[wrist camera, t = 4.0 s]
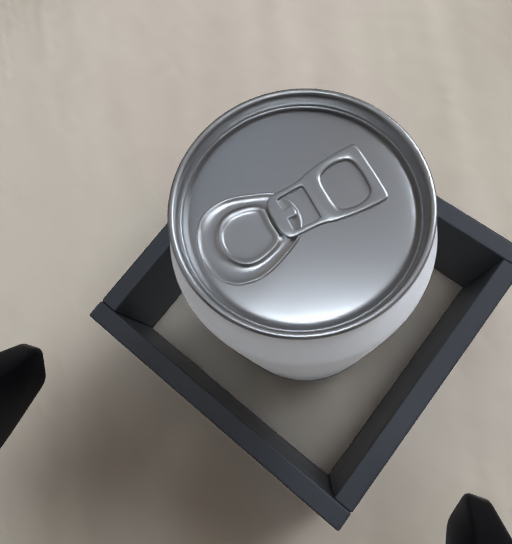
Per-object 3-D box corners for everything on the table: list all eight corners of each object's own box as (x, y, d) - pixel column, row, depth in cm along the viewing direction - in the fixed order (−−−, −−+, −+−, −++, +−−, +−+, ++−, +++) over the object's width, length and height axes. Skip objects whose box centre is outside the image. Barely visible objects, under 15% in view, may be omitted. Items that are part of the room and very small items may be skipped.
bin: (331, 501, 19) (338, 532, 15) (132, 331, 22) (88, 315, 18) (486, 284, 21) (532, 254, 16) (281, 150, 23) (275, 94, 19)
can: (210, 280, 22) (102, 154, 11) (331, 217, 22) (355, 24, 11) (274, 408, 20) (228, 423, 9) (405, 338, 20) (529, 263, 9)
